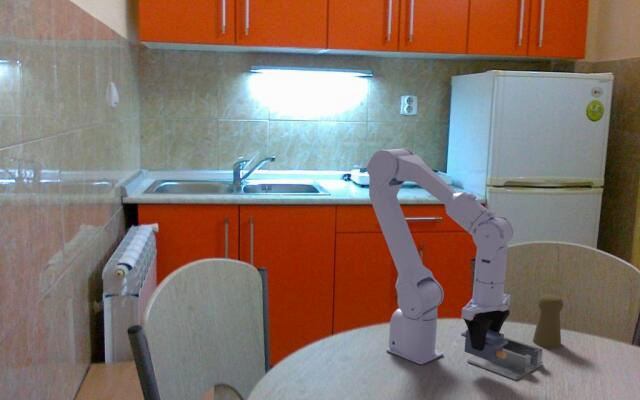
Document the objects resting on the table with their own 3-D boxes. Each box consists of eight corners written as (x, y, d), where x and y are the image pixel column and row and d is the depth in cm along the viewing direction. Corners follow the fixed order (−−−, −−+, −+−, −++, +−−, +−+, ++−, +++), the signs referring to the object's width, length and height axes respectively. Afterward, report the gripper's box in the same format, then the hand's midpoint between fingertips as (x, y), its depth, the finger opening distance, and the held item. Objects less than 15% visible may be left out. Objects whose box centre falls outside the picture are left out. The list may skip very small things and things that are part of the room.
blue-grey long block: (460, 349, 123) (461, 328, 122) (471, 344, 125) (473, 323, 125) (498, 364, 117) (500, 342, 116) (509, 358, 119) (511, 337, 119)
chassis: (467, 361, 127) (468, 345, 127) (495, 348, 135) (496, 333, 134) (516, 380, 119) (517, 363, 119) (542, 364, 127) (544, 348, 126)
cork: (563, 349, 135) (568, 301, 133) (534, 346, 136) (539, 299, 135) (558, 339, 141) (563, 293, 139) (531, 336, 142) (535, 290, 140)
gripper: (487, 292, 111) (481, 362, 113) (526, 278, 121) (520, 343, 123) (454, 282, 116) (449, 350, 118) (494, 269, 126) (489, 332, 128)
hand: (483, 346), depth 121 cm, fingers closed on blue-grey long block, 4 cm apart
